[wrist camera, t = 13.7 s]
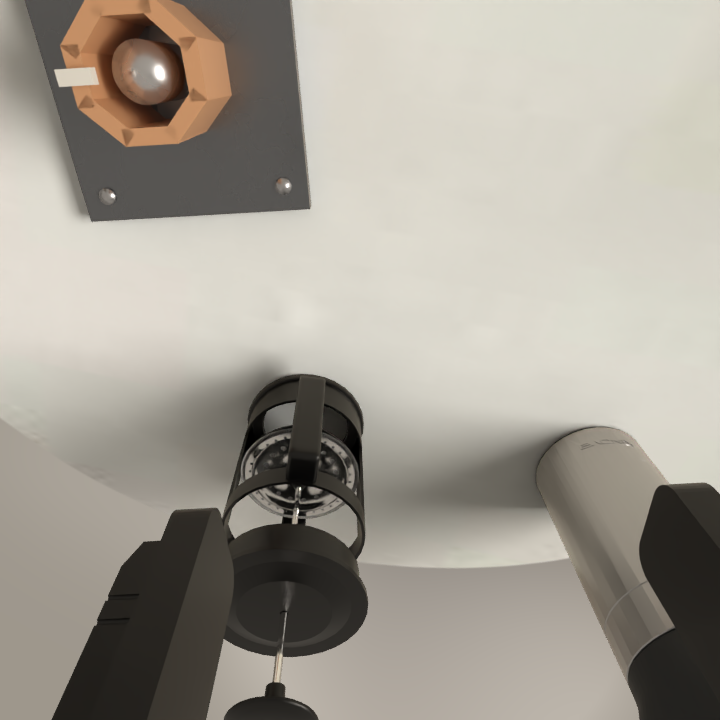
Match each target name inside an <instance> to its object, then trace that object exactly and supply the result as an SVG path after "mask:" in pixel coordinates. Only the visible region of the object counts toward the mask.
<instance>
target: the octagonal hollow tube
mask: <svg viewBox="0 0 720 720" xmlns="http://www.w3.org/2000/svg"><path fill="white" fill-rule="evenodd" d="M155 25H157V26H158V27H159V28H160V29H161V30H163V31H164V32H165V33H166V34H167V35H168V36H169V37H170V38H171V39H172V40H174V41H175V42H176V43H177V44H178V45H179V46H180V47H181V53H182V58H183V63H184V68H185V74H186V79H187V84H188V89H189V95H188V96H187V98H186V99H185V101H184V102H183V104H182V105H181V107H180V108H179V110H178V111H177V113H176V114H175V116H174V117H173V118H172V119H165V118H164V117H163V116H162V115H161V114H160V113H158V112H157V111H156V110H155V109H154V108H152V107H151V106H150V105H142V104H138V103H136V102H134V101H132V100H130V99H129V98H128V97H126V96H125V95H124V94H123V93H122V91H121V90H120V89H119V87H118V86H117V84H116V82H115V79H114V76H113V72H112V58H113V55H114V52H115V50H116V49H117V47H118V46H119V45H120V44H121V43H123V42H124V41H126V40H129V39H139V37H140V35H141V34H142V32H143V30H144V29H145V27H146V26H155ZM60 47H61V51H62V54H63V58H64V61H65V65H66V68H67V69H55V70H54V72H55V75H56V78H57V82H58V85H59V87H69V86H72V89H73V93H74V96H75V100H76V103H77V107H78V109H79V110H81V111H82V112H83V113H84V114H86V115H87V116H88V117H89V118H91V119H92V120H93V121H94V122H96V123H97V124H98V125H99V126H101V127H102V128H103V129H104V130H106V131H107V132H108V133H109V134H111V135H112V136H113V137H114V138H116V139H117V140H118V141H119V142H121V143H122V144H123V145H125V146H126V147H132V146H148V145H164V144H179V143H181V142H183V141H186V140H188V139H190V138H193V137H195V136H197V135H200V134H202V133H204V132H206V131H207V130H208V129H209V127H210V126H211V124H212V123H213V121H214V120H215V119H216V117H217V116H218V114H219V113H220V111H221V110H222V109H223V107H224V106H225V104H226V103H227V101H228V100H229V98H230V97H231V96H232V93H231V87H230V80H229V74H228V67H227V61H226V55H225V48H224V43H223V42H222V41H221V40H220V39H219V38H218V37H217V36H216V35H214V34H213V33H212V32H211V31H210V30H209V29H208V28H207V27H206V26H205V25H204V24H203V23H202V22H201V21H200V20H198V19H197V18H196V17H195V16H194V15H193V14H192V13H191V12H190V11H189V10H188V9H187V8H186V7H185V6H184V5H181V4H179V3H176V2H174V1H171V0H84V2H83V4H82V6H81V8H80V9H79V11H78V13H77V15H76V17H75V19H74V21H73V22H72V24H71V26H70V28H69V30H68V32H67V34H66V35H65V37H64V39H63V41H62V43H61V45H60Z"/></svg>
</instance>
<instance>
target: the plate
mask: <svg viewBox="0 0 720 720" xmlns="http://www.w3.org/2000/svg"><path fill="white" fill-rule="evenodd" d="M171 1H174V2H176V3H179V4H181V5H184V6H185V7H186V8H187V9H188V10H189V11H190V12H191V13H192V14H193V15H194V16H195V17H196V18H197V19H198V20H200V21H201V22H202V23H203V24H204V25H205V26H206V27H207V28H208V29H209V30H210V31H211V32H212V33H213V34H214V35H216V36H217V37H218V38H219V39H220V40H221V41H222V42H223V43H224V48H225V55H226V61H227V67H228V74H229V80H230V87H231V93H232V96H231V97H230V98H229V100H228V101H227V103H226V104H225V106H224V107H223V109H222V110H221V111H220V113H219V114H218V116H217V117H216V119H215V120H214V121H213V123H212V124H211V126H210V127H209V129H208V130H207V131H206V132H204V133H202V134H200V135H197V136H195V137H193V138H190V139H188V140H186V141H183V142H181V143H179V144H164V145H148V146H132V147H126V146H125V145H123V144H122V143H121V142H119V141H118V140H117V139H116V138H114V137H113V136H112V135H111V134H109V133H108V132H107V131H106V130H104V129H103V128H102V127H101V126H99V125H98V124H97V123H96V122H94V121H93V120H92V119H91V118H89V117H88V116H87V115H86V114H84V113H83V112H82V111H81V110H79V109H78V107H77V103H76V100H75V96H74V93H73V89H72V86H69V87H59V85H58V82H57V78H56V75H55V72H54V70H55V69H67V68H66V65H65V61H64V58H63V54H62V51H61V47H60V45H61V43H62V41H63V39H64V37H65V35H66V34H67V32H68V30H69V28H70V26H71V24H72V22H73V21H74V19H75V17H76V15H77V13H78V11H79V9H80V8H81V6H82V4H83V2H84V0H25V2H26V5H27V9H28V12H29V15H30V19H31V22H32V25H33V29H34V32H35V35H36V39H37V42H38V45H39V49H40V52H41V55H42V59H43V62H44V65H45V69H46V72H47V75H48V79H49V82H50V85H51V89H52V92H53V95H54V99H55V102H56V105H57V109H58V112H59V115H60V119H61V122H62V125H63V129H64V132H65V135H66V139H67V142H68V145H69V149H70V152H71V155H72V159H73V162H74V165H75V169H76V172H77V175H78V179H79V182H80V185H81V189H82V192H83V195H84V199H85V202H86V205H87V209H88V212H89V215H90V219H91V222H93V221H111V220H128V219H145V218H163V217H180V216H197V215H214V214H232V213H249V212H266V211H283V210H301V209H310V207H311V198H310V188H309V178H308V167H307V157H306V146H305V136H304V125H303V115H302V104H301V94H300V83H299V73H298V62H297V52H296V41H295V31H294V20H293V10H292V0H171ZM112 72H113V76H114V79H115V82H116V84H117V86H118V87H119V89H120V90H121V91H122V93H123V94H124V95H125V96H126V97H128V98H129V99H130V100H132V101H134V102H136V103H138V104H142V105H150V106H151V107H152V108H154V109H155V110H156V111H157V112H158V113H160V114H161V115H162V116H163V117H164V118H165V119H172V118H173V117H174V116H175V114H176V113H177V111H178V110H179V108H180V107H181V105H182V104H183V102H184V101H185V99H186V98H187V96H188V95H189V89H188V84H187V79H186V74H185V68H184V63H183V58H182V53H181V47H180V46H179V45H178V44H177V43H176V42H175V41H174V40H172V39H171V38H170V37H169V36H168V35H167V34H166V33H165V32H164V31H163V30H161V29H160V28H159V27H158V26H157V25H155V26H146V27H145V29H144V30H143V32H142V34H141V35H140V37H139V39H129V40H126V41H124V42H123V43H121V44H120V45H119V46H118V47H117V49H116V50H115V52H114V55H113V58H112Z"/></svg>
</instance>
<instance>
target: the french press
mask: <svg viewBox="0 0 720 720" xmlns="http://www.w3.org/2000/svg"><path fill="white" fill-rule="evenodd" d="M292 402H296V406H295V413H294V419H293V425H291V426H285V427H281V428H278V429H275V430H273V431H271V432H269V433H267V434H266V433H265V429H264V416H265V414H266V412H267V411H268V410H270V409H272V408H274V407H276V406H279V405H282V404H286V403H292ZM324 406H326V407H329V408H331V409H333V410H335V411H336V412H338V413H339V414H341V415H342V416H343V417H344V418H345V419H347V423H348V431H347V434H346V437H345V439H344V440H343V442H342V441H341V440H340V439H339V438H338V437H336V436H335V435H333V434H331V433H330V432H328V431H325V430H323V429H322V424H323V410H324ZM363 424H364V422H363V416H362V411H361V409H360V406H359V404H358V402H357V401H356V400H355V398H354V397H353V395H352V394H351V393H350V392H349V391H348V390H346V389H345V388H344V387H343V386H341V385H340V384H338V383H336V382H335V381H332V380H330V379H327V378H325V377H320V376H316V375H304V374H300V375H292V376H287V377H284V378H281V379H278V380H276V381H274V382H272V383H271V384H269V385H268V386H266V387H265V388H264V389H263V390H262V391H260V393H259V394H258V395H257V396H256V398H255V399H254V401H253V403H252V405H251V407H250V410H249V415H248V428H247V431H246V435H245V439H244V442H243V446H242V449H241V453H240V457H239V460H238V464H237V467H236V471H235V474H234V478H233V482H232V485H231V489H230V492H229V496H228V500H227V503H226V507H225V510H224V514H223V518H222V522H223V526H224V530H225V534H226V538H227V542H228V546H229V550H230V554H231V558H232V563H233V569H234V589H233V597H232V602H231V607H230V611H229V616H228V621H227V625H226V630H225V634H224V639H225V640H227V641H228V642H230V643H232V644H233V645H235V646H238V647H240V648H243V649H245V650H247V651H251V652H255V653H259V654H262V655H269V656H276V657H275V667H274V675H273V682H272V683H269V684H268V685H267V686H266V691H265V696H262V697H255V698H250V699H247V700H244V701H241V702H239V703H237V704H236V705H234V706H233V707H232V708H230V709H229V710H228V712H227V713H226V715H225V717H224V720H318V717H317V715H316V714H315V712H314V711H313V710H312V709H311V708H310V707H309V706H307V705H305V704H303V703H302V702H299V701H296V700H293V699H290V698H285V686H284V685H283V684H282V683H280V679H281V671H282V662H283V657H297V656H307V655H312V654H316V653H320V652H324V651H326V650H329V649H332V648H334V647H336V646H338V645H340V644H342V643H343V642H345V641H347V640H348V639H349V638H350V637H352V636H353V635H354V634H355V633H356V632H357V631H358V629H359V628H360V627H361V625H362V624H363V622H364V620H365V617H366V615H367V608H368V597H367V593H366V588H365V586H364V584H363V582H362V580H361V578H360V577H359V570H358V564H357V561H356V559H357V558H358V556H359V555H360V554H361V551H362V548H363V546H364V542H365V516H364V491H363V466H362V441H361V437H362V434H363ZM240 477H241V479H242V484H240V485H239V486H238V484H239V481H240ZM356 488H357V496H356V495H355V494H354V492H355V491H356ZM246 495H249V496H250V497H251V498H252V499H253V500H254V501H255V502H256V503H257V504H258V505H260V506H261V507H262V508H264V509H266V510H268V511H270V512H272V513H274V514H277V515H280V516H283V519H282V524H274V525H266V526H262V527H259V528H255V529H252V530H250V531H248V532H246V533H243V534H241V535H240V536H238V537H237V538H236V539H235V538H234V537H233V535H232V534H231V531H230V528H229V525H228V522H229V519H230V515H231V511H232V508H233V507H234V505H235V504H236V503H237V502H238V501H240V500H241V499H242V498H244V497H245V496H246ZM345 503H346V504H347V505H348V506H349V507H350V508H351V509H352V511H353V512H354V513H355V514H356V516H357V530H358V537H357V538H356V540H355V541H354V543H353V544H352V545H351V546H350V547H349V548H348V547H347V546H346V545H345V544H344V543H343V542H341V541H340V540H339V539H337V538H336V537H335V536H333V535H331V534H329V533H327V532H325V531H323V530H319V529H316V528H313V527H310V526H305V523H306V519H308V518H316V517H320V516H324V515H327V514H329V513H331V512H334V511H336V510H337V509H339V508H340V507H342V506H343V505H344V504H345Z"/></svg>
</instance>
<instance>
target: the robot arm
mask: <svg viewBox="0 0 720 720" xmlns="http://www.w3.org/2000/svg"><path fill="white" fill-rule="evenodd" d="M536 482H537V487H538V489H539V491H540V493H541V496H542V498H543V500H544V502H545V504H546V507H547V509H548V511H549V514H550V516H551V518H552V520H553V522H554V525H555V527H556V529H557V531H558V533H559V536H560V538H561V540H562V542H563V544H564V546H565V549H566V551H567V553H568V555H569V557H570V560H571V562H572V564H573V566H574V568H575V570H576V572H577V575H578V577H579V579H580V581H581V583H582V586H583V588H584V590H585V592H586V594H587V597H588V599H589V601H590V603H591V605H592V608H593V610H594V612H595V614H596V616H597V619H598V621H599V623H600V625H601V627H602V629H603V632H604V634H605V636H606V638H607V640H608V642H609V644H610V646H611V649H612V651H613V653H614V655H615V657H616V659H617V662H618V664H619V666H620V668H621V670H622V673H623V675H624V677H625V679H626V681H627V683H628V685H629V688H630V690H631V692H632V694H633V697H634V699H635V701H636V704H637V707H638V710H639V719H640V720H720V494H719V493H718V492H717V491H716V490H715V489H714V488H713V487H712V486H711V485H709V484H707V483H687V484H669V483H668V481H667V480H666V479H665V477H664V476H663V475H662V473H661V472H660V471H659V470H658V468H657V467H656V466H655V465H654V463H653V462H652V461H651V459H650V458H649V457H648V456H647V454H646V453H645V452H644V450H643V449H642V448H641V447H640V445H639V444H638V443H637V442H636V440H635V439H634V438H632V437H631V436H630V435H629V434H627V433H625V432H623V431H621V430H617V429H613V428H605V427H596V428H589V429H584V430H581V431H577V432H574V433H572V434H570V435H568V436H566V437H564V438H562V439H561V440H559V441H558V442H556V443H555V444H554V445H553V446H552V447H551V448H550V449H549V450H548V451H547V452H546V453H545V454H544V456H543V457H542V459H541V460H540V462H539V465H538V467H537V472H536ZM233 589H234V569H233V563H232V558H231V554H230V550H229V546H228V542H227V538H226V534H225V530H224V526H223V522H222V518H221V514H220V512H219V510H218V509H217V508H203V509H185V510H175V511H174V512H173V513H172V515H171V516H170V519H169V521H168V524H167V526H166V529H165V531H164V534H163V536H162V539H161V541H150V542H143V543H142V544H141V546H140V547H139V548H138V549H137V550H136V551H135V552H134V553H133V554H132V555H131V556H130V558H129V559H128V560H127V561H126V562H125V563H124V564H123V565H122V566H121V569H120V571H119V573H118V575H117V577H116V579H115V582H114V584H113V586H112V588H111V590H110V592H109V595H108V597H109V598H108V601H105V603H104V606H103V608H102V610H101V612H100V615H99V617H98V619H97V621H98V622H97V625H96V626H94V628H93V630H92V632H91V634H90V637H89V639H88V641H87V643H86V645H85V648H84V650H83V652H82V654H81V656H80V658H79V661H78V663H77V665H76V667H75V669H74V672H73V674H72V676H71V678H70V680H69V683H68V685H67V687H66V689H65V691H64V694H63V696H62V698H61V700H60V702H59V705H58V707H57V709H56V711H55V713H54V716H53V718H52V720H206V717H207V713H208V707H209V703H210V699H211V694H212V690H213V685H214V680H215V676H216V671H217V666H218V662H219V657H220V653H221V648H222V644H223V639H224V634H225V630H226V625H227V621H228V616H229V611H230V607H231V602H232V597H233Z"/></svg>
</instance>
